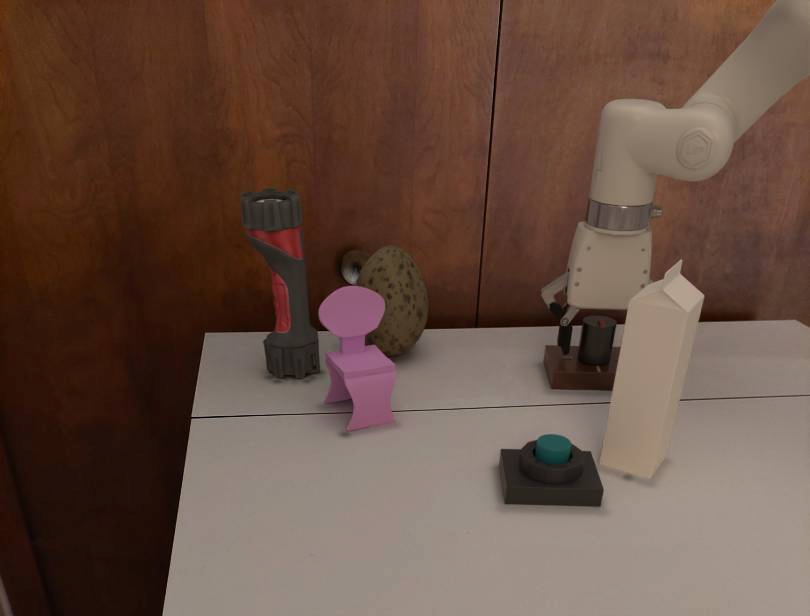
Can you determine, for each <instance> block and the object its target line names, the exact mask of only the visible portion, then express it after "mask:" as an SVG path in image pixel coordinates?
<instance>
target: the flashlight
mask: <svg viewBox="0 0 810 616" xmlns="http://www.w3.org/2000/svg"><path fill="white" fill-rule="evenodd" d="M240 214H241V215H240V216H241V226H242V227H243V228H244V231H245V236H246V238H247V240H248V242H249V243H250V245H251V246H252V247H253V248H254V250H256V251H257V252H258V253H259V254H260V255H261V256H262V257H263V259H264V260H265V262H266V264H267V267H268V269H269V273H270V280H271V292H272V295H273V306H274V310H275V311H274V315H275V317H276V318H275V319H276V320H275V327H274V328H273V330H272V331H271V332H270V333H268V334H267V335H266V337H265V338H264V339H263V341H262V344H263V350H264V355H265V364H266V366H265V367H266V371H267V372H268V373H273V374H274V376H275V377H276V378H279V379H283V378H284V377H285V376H294V377H295V379H303V378H305V377H306V374H309V375H312V374H318V373H320V371H321V360H320V346H319V345H320V343H319V341H320V340H319V333H318V330H317V329H316V328H315V327H314V326H312V325H311V319H310V307H309V306H310V305H309V293H308V278H307V268H306V258H305V255H304V254H305V249H306V245H305V237H304V236H305V235H304V229H303V223H304V219H303V212H302V207H301V199H300V193H299V191H298V190H296V189H293V188H288V189H287V191H284V190H283V191H282V190H277V188H276V187H275V186H274V187H273V186H267V187H263V188H262V191H256V192H252V191H251V190H245V191H243V192H242V193H241V194H240Z"/></svg>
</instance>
